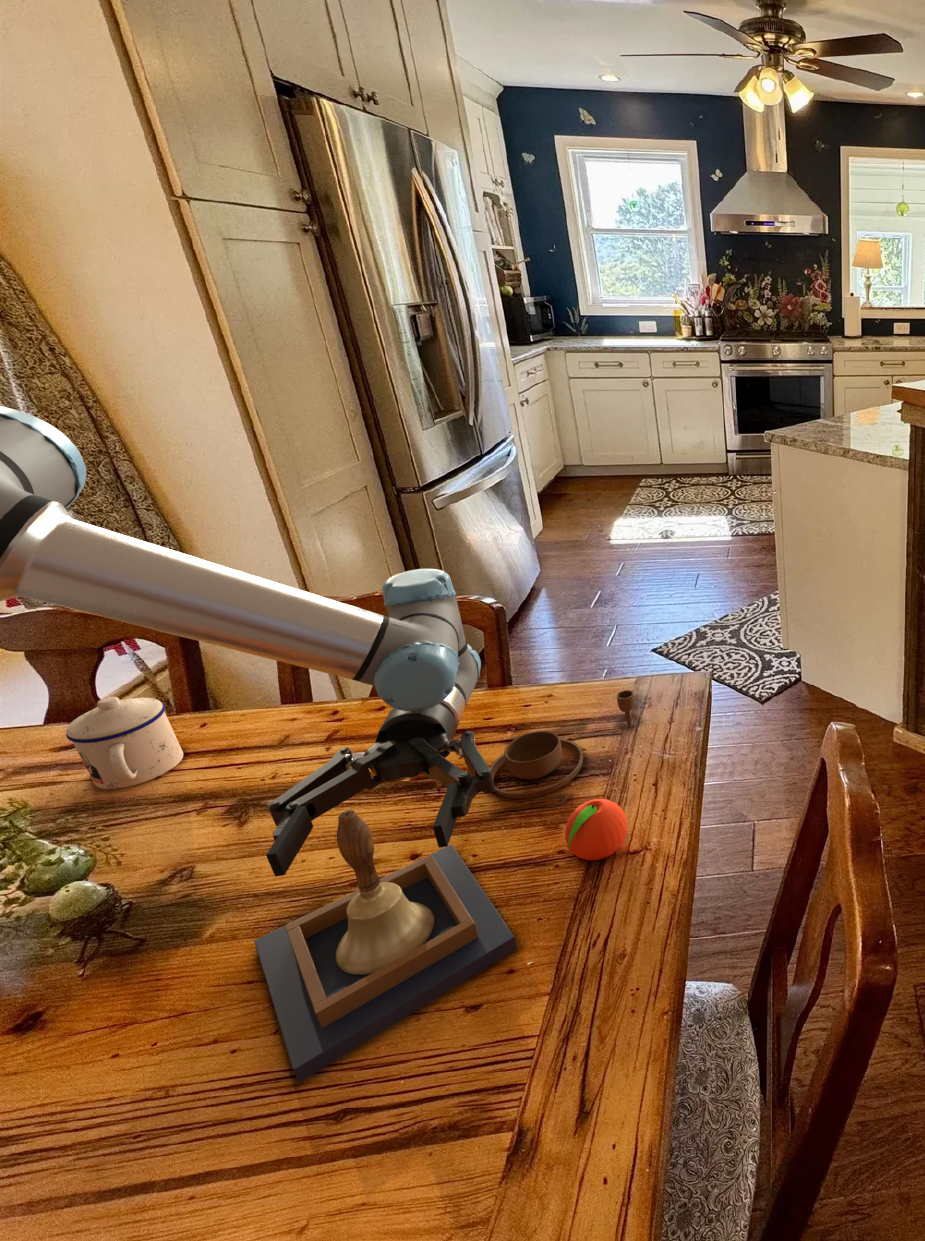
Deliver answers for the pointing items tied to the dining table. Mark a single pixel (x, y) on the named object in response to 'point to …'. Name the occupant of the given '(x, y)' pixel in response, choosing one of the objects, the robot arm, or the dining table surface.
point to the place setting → (545, 755)
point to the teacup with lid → (125, 741)
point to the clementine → (596, 829)
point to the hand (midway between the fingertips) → (359, 851)
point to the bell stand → (369, 1004)
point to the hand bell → (375, 908)
